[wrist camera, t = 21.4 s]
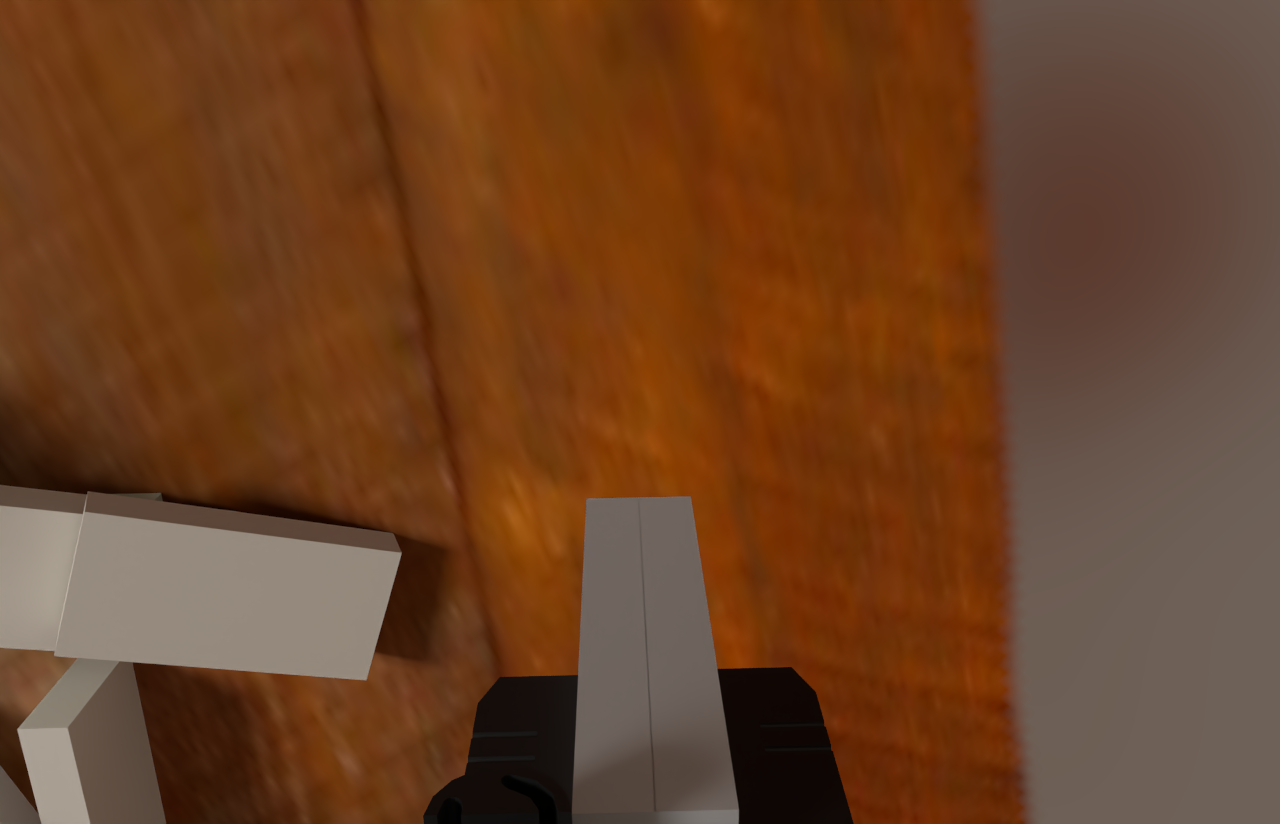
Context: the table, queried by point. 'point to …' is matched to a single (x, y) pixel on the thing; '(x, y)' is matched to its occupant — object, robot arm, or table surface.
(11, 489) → the domino
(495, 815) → the robot arm
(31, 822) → the milk
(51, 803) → the domino
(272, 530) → the domino
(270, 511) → the table surface
